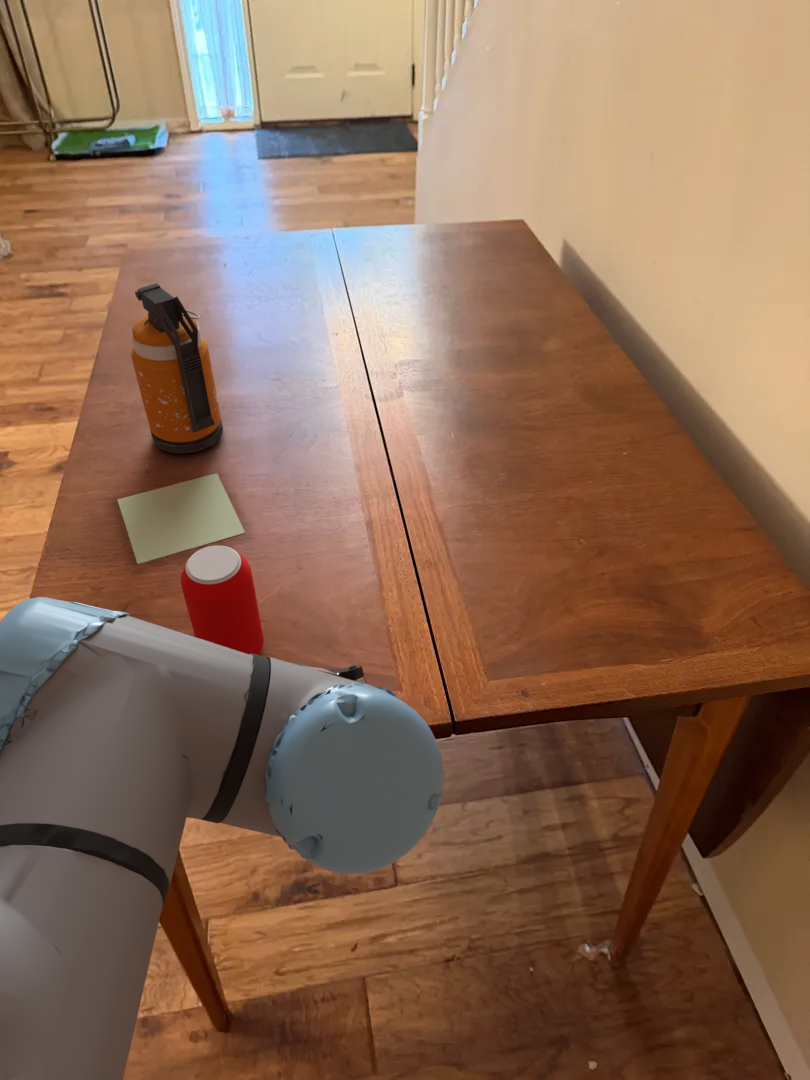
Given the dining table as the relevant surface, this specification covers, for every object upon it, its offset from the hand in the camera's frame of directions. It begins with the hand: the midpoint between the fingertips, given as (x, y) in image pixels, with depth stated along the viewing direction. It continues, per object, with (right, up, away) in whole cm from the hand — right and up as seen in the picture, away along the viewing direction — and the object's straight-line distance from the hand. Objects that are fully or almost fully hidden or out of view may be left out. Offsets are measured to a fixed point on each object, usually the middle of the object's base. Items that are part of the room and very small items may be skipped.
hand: (252, 690), depth 68 cm
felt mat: (-13, +16, +22) cm, 30 cm away
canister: (-14, +26, +33) cm, 44 cm away
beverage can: (-3, +2, +7) cm, 8 cm away
